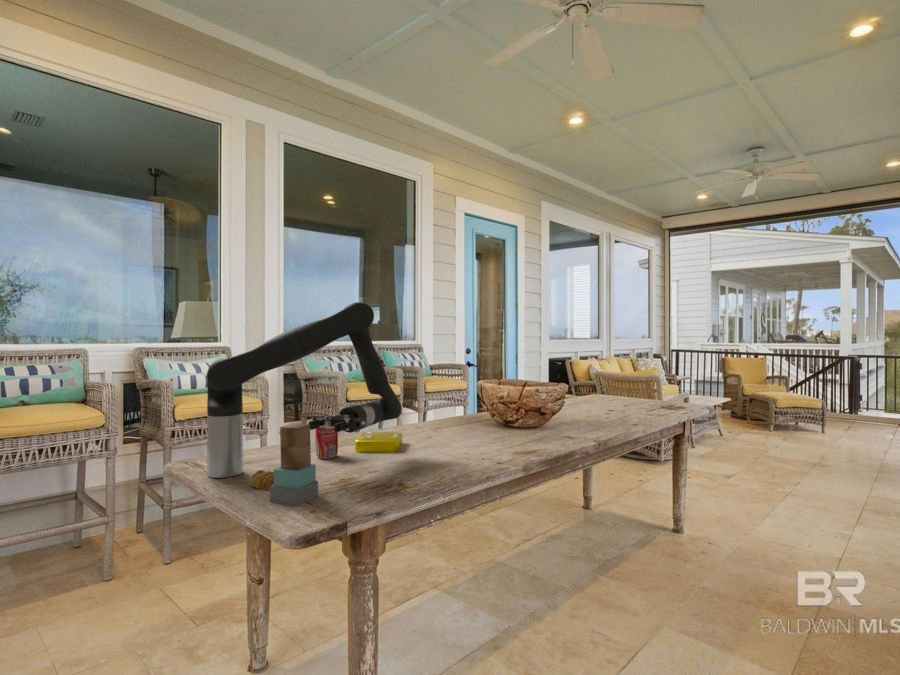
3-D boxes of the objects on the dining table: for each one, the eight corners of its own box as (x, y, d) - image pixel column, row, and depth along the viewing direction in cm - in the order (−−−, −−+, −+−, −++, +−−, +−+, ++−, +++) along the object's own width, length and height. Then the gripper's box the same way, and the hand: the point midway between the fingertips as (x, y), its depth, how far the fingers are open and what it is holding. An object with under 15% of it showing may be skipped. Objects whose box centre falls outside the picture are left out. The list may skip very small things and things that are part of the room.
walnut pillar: (281, 468, 118) (280, 427, 118) (293, 463, 123) (292, 423, 123) (298, 469, 117) (297, 428, 117) (310, 464, 122) (309, 424, 122)
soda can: (324, 453, 165) (324, 418, 165) (342, 455, 162) (342, 419, 162) (311, 458, 158) (311, 421, 158) (329, 460, 156) (329, 422, 156)
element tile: (397, 453, 166) (397, 439, 166) (353, 453, 166) (353, 439, 166) (403, 443, 181) (403, 431, 181) (362, 443, 181) (362, 430, 181)
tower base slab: (269, 502, 118) (269, 486, 118) (292, 492, 125) (292, 477, 125) (295, 507, 114) (295, 490, 114) (318, 496, 122) (318, 480, 122)
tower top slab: (273, 486, 118) (273, 469, 117) (292, 477, 124) (292, 462, 124) (298, 489, 115) (298, 472, 115) (315, 480, 122) (315, 464, 122)
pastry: (291, 485, 131) (291, 471, 131) (272, 493, 125) (272, 478, 124) (266, 481, 135) (266, 467, 135) (246, 488, 129) (246, 473, 129)
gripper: (336, 403, 147) (300, 411, 133) (377, 406, 142) (344, 414, 127) (337, 428, 148) (301, 439, 133) (377, 431, 142) (345, 443, 127)
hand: (322, 427), depth 130 cm, fingers open, 8 cm apart
